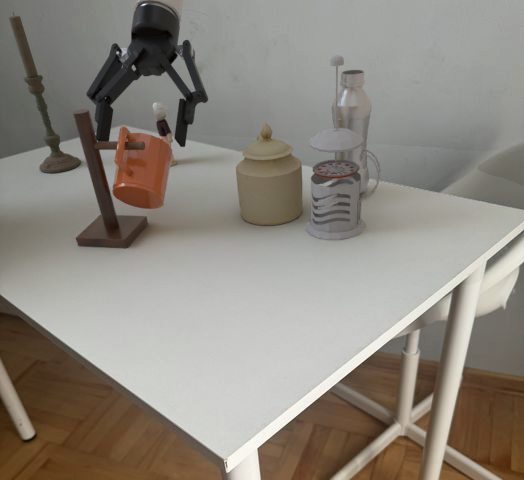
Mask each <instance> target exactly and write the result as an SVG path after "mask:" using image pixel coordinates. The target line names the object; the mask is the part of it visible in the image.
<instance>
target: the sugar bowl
mask: <svg viewBox="0 0 524 480" xmlns="http://www.w3.org/2000/svg"><path fill="white" fill-rule="evenodd" d="M272 136H273V129H272V127H271V126H270V125H269V124H268V123H266V122H265V123H264V124H263V125H262V126H261V129H260V134H258V135H257V136H256V141H253V142H252V143H250V144H249V145H248V146H246V147H245V148H244V149H243V150H242V153H241V155H242V157H244V158H243V159H242V160H240V161H239V162H238V163H237V164H236V166H235V172H236V173H235V175H236V187H237V196H238V204H239V211H240V216H241V218H242V219H243V220H244V221H245V222H247V223H249V224H251V225H257V226H277V225H283V224H286V223H290V222H292V221H295V220H296V219H298V218H299V217H300V216H301V215H302V213H303V209H304V207H303V206H304V203H303V201H304V200H303V199H304V198H303V165H302V160H300V158H298V157H297V156H295V155H293V154H292V153H293V152H294V148H293V146H291V145H290V144H288V143H287V142H285V141H284V140H282V139H279V138H271V137H272Z"/></svg>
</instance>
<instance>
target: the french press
mask: <svg viewBox="0 0 524 480" xmlns="http://www.w3.org/2000/svg"><path fill="white" fill-rule="evenodd" d="M329 60H330V62H329V66H331V67H335V98H336V128H334V127H333V128H327V129H324V130H321V131H320V132H318V133H317V134H315V135H313V136H312V137H311V138H309V140H308V145H309V147H310V148H311V149H312V150H314V151H316V152H320V153H328V154H331V153H332V154H333V153H334V159H335V160H334V159H327V160H324V161H319V162H317V163H316V164H315V165H313V167H312V172H313V174H312V175H311V176H310V197H311V198H310V206H311V207H310V210H311V211H310V214H311V217H310V218H311V219H309V221H307V223H306V224H305V231H306V232H307V233H308V234H309V235H311V236H313V237H315V238H318V239H322V240H327V241H336V240H337V241H340V240H346V239H351V238H354V237H356V236H358V235H361V234H362V233H363V231H364V230H365V229H366V223H365V222H364V220H363V219H361V216H362V214H361V213H362V201H365V200H367V199H369V198H370V197H371V196H372V195H373V194H374V193H375V192H376V189H377V188H378V185H379V182H380V178H381V172H382V169H381V164H380V161H379V159H378V157H377V156H376V155H375V154H374V153H373V152H372V151H370V150H369V149H367V148H366V149H363V150H362V152H361V154H360V161H362V159H363V154H364V155H365V156H367V158H369V160H370V161H372V162H373V165H374V167H375V169H376V173H377V174H376V183H375V185H374V186H373V188H372V189H371V190H370V191H368V192H366V193H362V195H361V193H360V182H361V175H360V174H359V173H358V170H359V165H358V164H356V163H355V162H352V161H349V160H344V159H343V160H342V159H341V160H340V159H339V160H338V159H337V152H346V151H351V150H354V149H356V148H358V147H359V146H361V145H362V143H363V137H362V136H360V135H358V134H357V133H355V132H353V131H352V130H349V129H343V128H337V95H338V86H339V85H338V81H339V80H338V77H339V75H338V73H339V71H338V69H339V66H340V67H341V66H344V64H345V59H344V57H343V56H342V55H340V54H336V55H332V56H331V57H330V59H329ZM364 151H367V153H368V154H366V153H363V152H364ZM369 154H370V155H371V156H370V155H369ZM372 157H373V158H372ZM349 176H350V177H352V178H353V179H354V180H355V181H356V183H354V182H352V181H350V180H348V179H341V180H338V181H336V182H334V183H332V179H334V178H345V177H349ZM330 181H331V183H330V184H328V185H323V184H326V183H328V182H330ZM343 183H347V184H350V185H347V186H341V187H334V186H336V185H338V184H343ZM337 194H338V195H337ZM347 194H348V195H347ZM334 195H336V196H334ZM331 196H334V197H332V198H329V197H331ZM327 198H328V199H327ZM324 199H326V200H324ZM321 200H323V201H321ZM334 203H335V204H334ZM330 204H333V205H331V206H328V207H325V206H327V205H330ZM322 207H325V208H322ZM319 208H322V209H319Z"/></svg>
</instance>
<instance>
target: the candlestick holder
mask: <svg viewBox="0 0 524 480" xmlns="http://www.w3.org/2000/svg"><path fill="white" fill-rule="evenodd" d="M8 20H9V24H10V27H11V31H12V33H13V36H14V39H15V43H16V47H17V50H18V52H19V56H20V59H21V62H22V65H23V68H24V72H25V74H26V76H25V77H23V81H24V83H26V84H27V85H28V87H27V90H28V92H29V94H31V95H33V96H34V97H35V103H36V109H37V111H38V112H39V114H40V116H41V120H42V124H43V126H44V128H45V135H44V136H43V141H44V143H45V144H46V146H47V147H49V149H50V154H49V156H47V157H45V159H44V160H43V162H42V163H40V165H39V170H40V171H41V172H42V173H45V174H57V173H64V172H68V171H71V170H73V169H75V168H77V167H79V166H80V165H81V160H80V158H79V157H77V156H74V155H72V154H70V153H65V152H63V151H62V150H61V147H60V144H61V136H60V134H59V133H56V132H55V131H54V129H53V127H52V122H51V121H52V120H51V119H50V116H49V112H48V104H47V103H46V101H45V98H44V96H43V94H44V92H45V91H46V88H45V86H44V84H43V83H42V82H43V79H44V76H43V75H42V74H39V73H38V70H37V68H36V64H35V60H34V58H33V54H32V50H31V48H30V44H29V41H28V38H27V35H26V34H27V33H26V31H25V28H24V25H23V22H22V18H21V16H20V15H15V11H12V16H9V17H8Z"/></svg>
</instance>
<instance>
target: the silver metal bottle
mask: <svg viewBox="0 0 524 480" xmlns="http://www.w3.org/2000/svg"><path fill="white" fill-rule="evenodd" d="M365 84H366V83H365V70H362V69H347V70H343V71H341V72H340V82H339V85H340V87H341V89H340V91H339V92H337V128H343V129H349V130H352V131H353V132H355V133H357V134H358V135H360V136H362V137H363V143H362V145H361V146H359V147H358V148H356V149H354V150H351V151H346V152H337V159H338V160H339V159H340V160H341V159H342V160H343V159H344V160H349V161H352V162H355V163H356V164H358V165H359V170H358V173H359V174H360V175H361V182H360V194H363V193H364V192H365V191H366V189H368V187H369V181H370V172H369V166H368V157H367V156H365V155H364V154H363V159H362V161H360V154H361V152H362V150H363V149H367V145H368V141H367V140H368V132H369V125H370V120H371V113H372V102H371V99H370V97H369V95H368V94H367V93H366V91H365V89H364V87H363V86H364V85H365ZM331 116H332V123H333V124H332V125H333V128H336V97H335V98H334V100H333V101H332V105H331ZM363 153H366V154H367V153H368V152H367V151H364V152H363ZM367 155H368V154H367ZM333 160H335V158H334V159H333ZM341 179H348V180H350V181H352V182H354V183H356V181H355V180H354V179H353V178H352V177H350V176H349V177H345V178H334V179H332V180H331V184H332V183H334V182H336V181H338V180H341ZM347 185H350V184H347V183H343V184H338V185H336V186H334V187H341V186H347ZM347 195H348V194H347Z"/></svg>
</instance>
